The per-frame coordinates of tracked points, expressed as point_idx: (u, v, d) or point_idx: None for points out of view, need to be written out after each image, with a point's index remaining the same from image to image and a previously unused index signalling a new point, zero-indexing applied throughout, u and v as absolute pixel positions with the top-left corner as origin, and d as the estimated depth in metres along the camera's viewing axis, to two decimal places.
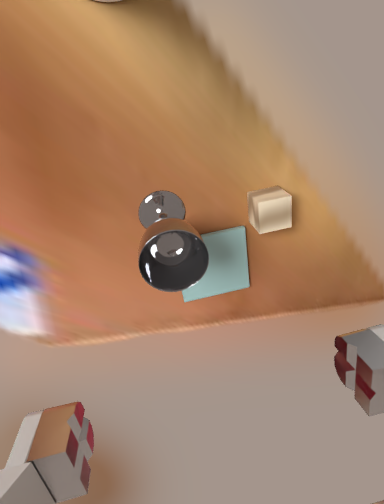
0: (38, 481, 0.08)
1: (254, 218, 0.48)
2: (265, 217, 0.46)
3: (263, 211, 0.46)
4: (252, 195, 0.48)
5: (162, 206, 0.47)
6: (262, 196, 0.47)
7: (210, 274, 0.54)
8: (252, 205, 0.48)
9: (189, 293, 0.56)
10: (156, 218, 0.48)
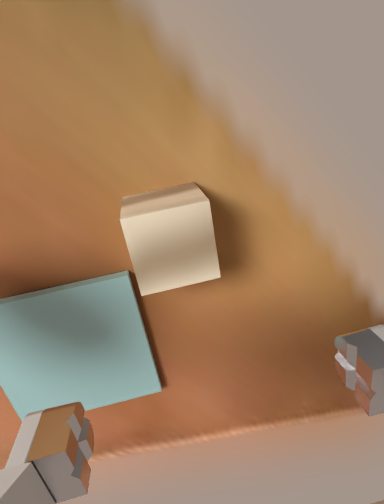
0: (38, 481, 0.08)
1: None
2: (149, 256, 0.18)
3: (139, 240, 0.18)
4: (125, 202, 0.20)
5: None
6: (143, 204, 0.19)
7: (69, 372, 0.26)
8: None
9: (30, 410, 0.27)
10: None
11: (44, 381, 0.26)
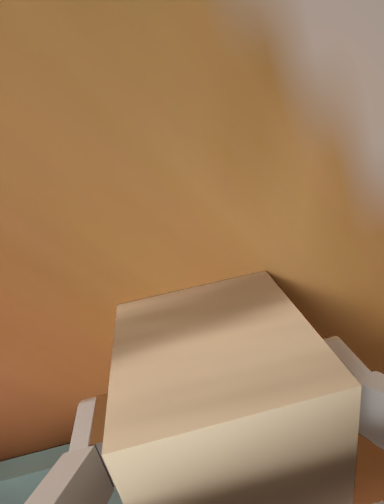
0: (100, 464, 0.08)
1: None
2: None
3: (157, 490, 0.06)
4: (122, 339, 0.09)
5: None
6: (167, 360, 0.08)
7: None
8: None
9: None
10: None
11: None
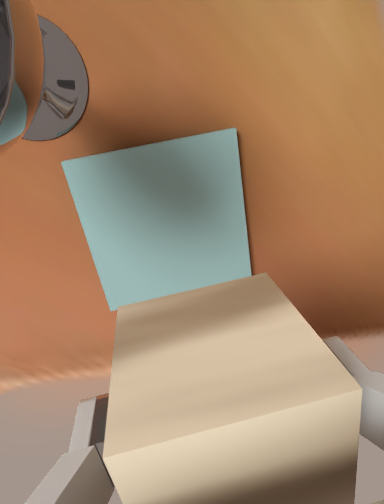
0: (100, 464, 0.08)
1: None
2: None
3: (158, 493, 0.06)
4: (123, 341, 0.09)
5: None
6: (168, 362, 0.08)
7: (163, 246, 0.24)
8: None
9: (119, 291, 0.25)
10: None
11: (136, 255, 0.24)
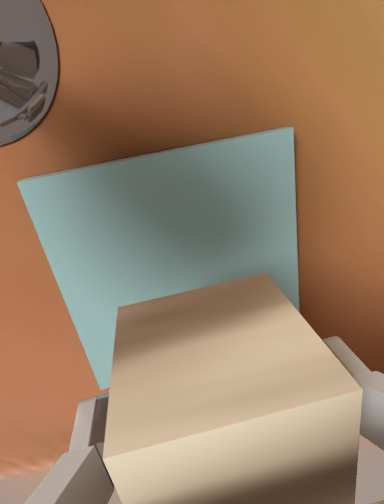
0: (100, 464, 0.08)
1: None
2: None
3: (158, 494, 0.06)
4: (123, 342, 0.09)
5: None
6: (168, 363, 0.08)
7: None
8: None
9: None
10: None
11: None
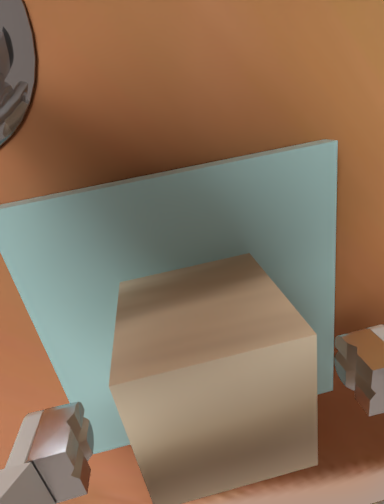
0: (38, 481, 0.08)
1: None
2: (174, 446, 0.08)
3: (153, 420, 0.08)
4: (124, 308, 0.10)
5: None
6: (162, 321, 0.09)
7: None
8: None
9: (107, 424, 0.14)
10: None
11: None
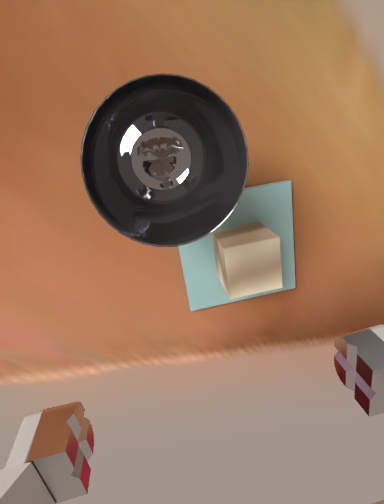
0: (38, 481, 0.08)
1: (222, 273, 0.30)
2: (238, 272, 0.28)
3: (233, 262, 0.28)
4: (218, 236, 0.30)
5: None
6: (232, 238, 0.29)
7: None
8: (218, 252, 0.30)
9: (198, 296, 0.34)
10: None
11: (214, 270, 0.33)
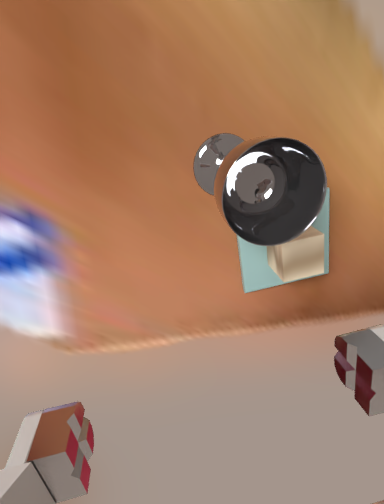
0: (38, 481, 0.08)
1: (276, 262, 0.38)
2: (291, 261, 0.36)
3: (288, 253, 0.36)
4: None
5: (226, 154, 0.35)
6: None
7: None
8: (273, 246, 0.38)
9: (251, 280, 0.42)
10: None
11: (265, 259, 0.41)
